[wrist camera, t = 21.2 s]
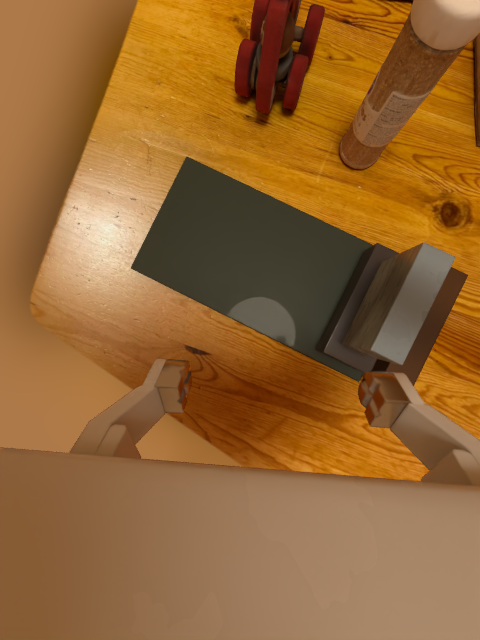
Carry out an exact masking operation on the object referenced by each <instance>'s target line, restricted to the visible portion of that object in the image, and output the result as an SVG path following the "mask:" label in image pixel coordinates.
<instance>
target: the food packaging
mask: <svg viewBox="0 0 480 640" xmlns="http://www.w3.org/2000/svg"><path fill="white" fill-rule="evenodd" d="M474 47H475V89H476V103H475V117H476V135H477V146H480V33H479V34H478V35H477V36H476V37H475V38H474Z"/></svg>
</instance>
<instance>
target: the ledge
mask: <svg viewBox="0 0 480 640" xmlns="http://www.w3.org/2000/svg"><path fill="white" fill-rule="evenodd" d="M467 277H468V275H467V274H465V273H463V272H460V271H458V270H456V269H454V268H452V267H451V268H450V270H449V272H448V274H447V276H446V278H445V280H444V282H443V284H442V286H441V288H440V290H439V292H438V294H437V296H436V298H435V300H434V302H433V304H432V306H431V308H430V310H429V312H428V314H427V316H426V318H425V320H424V322H423V324H422V326H421V329H420V331H419V333H418V335H417V337H416V339H415V341H414V343H413V345H412V347H411V349H410V351H409V353H408V355H407V357H406V359H405V361H404V363H403V365H398V364H395V363H391V362H387V361H383V360H379V359H377V360H376V362H375V364H374V366H373V368H372V370H371V371H377V372H396V373H404V374H405V375H406V376H407V377H408V379H409V380H410V382H411V383H412V385H413V386H414V384H415V382H416V380H417V378H418V376H419V374H420V372H421V370H422V368H423V366H424V364H425V362H426V360H427V358H428V356H429V354H430V352H431V350H432V347H433V345H434V343H435V341H436V339H437V337H438V335H439V333H440V331H441V329H442V327H443V325H444V323H445V321H446V319H447V317H448V315H449V313H450V311H451V309H452V307H453V305H454V303H455V301H456V299H457V297H458V295H459V293H460V291H461V289H462V287H463V285H464V283H465V281H466V279H467ZM363 381H365V379H363ZM363 381H362V382H363Z"/></svg>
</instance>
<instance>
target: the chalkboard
mask: <svg viewBox="0 0 480 640" xmlns="http://www.w3.org/2000/svg"><path fill="white" fill-rule="evenodd" d="M372 246H373V245H372V244H370V243H368V242H365V241H363V240H361V239H359V238H357V237H355V236H353V235H351V234H349V233H347V232H344V231H342V230H340V229H338V228H336V227H334V226H332V225H330V224H328V223H326V222H323V221H321V220H319V219H317V218H315V217H313V216H311V215H309V214H307V213H305V212H302V211H300V210H298V209H296V208H294V207H292V206H290V205H288V204H286V203H283V202H281V201H279V200H277V199H275V198H273V197H271V196H269V195H267V194H265V193H262V192H260V191H258V190H256V189H254V188H252V187H250V186H248V185H246V184H244V183H241V182H239V181H237V180H235V179H233V178H231V177H229V176H227V175H225V174H223V173H220V172H218V171H216V170H214V169H212V168H210V167H208V166H206V165H204V164H202V163H199V162H197V161H195V160H193V159H191V158H189V157H186V159H185V161H184V163H183V165H182V167H181V169H180V171H179V173H178V175H177V177H176V179H175V181H174V183H173V185H172V187H171V189H170V191H169V193H168V194H167V196H166V198H165V200H164V202H163V204H162V206H161V208H160V210H159V212H158V214H157V216H156V218H155V220H154V222H153V224H152V226H151V228H150V230H149V232H148V234H147V236H146V238H145V240H144V242H143V244H142V246H141V248H140V250H139V252H138V254H137V256H136V258H135V260H134V262H133V264H132V266H131V269H133V270H135V271H137V272H139V273H141V274H144V275H146V276H148V277H150V278H152V279H154V280H156V281H158V282H160V283H162V284H164V285H166V286H168V287H170V288H172V289H174V290H176V291H178V292H180V293H182V294H184V295H186V296H188V297H190V298H192V299H194V300H196V301H198V302H200V303H202V304H204V305H206V306H208V307H210V308H212V309H214V310H216V311H218V312H220V313H222V314H224V315H226V316H228V317H230V318H232V319H234V320H236V321H238V322H240V323H242V324H244V325H246V326H248V327H250V328H252V329H254V330H256V331H258V332H260V333H262V334H264V335H266V336H268V337H270V338H272V339H274V340H276V341H278V342H280V343H282V344H284V345H286V346H288V347H290V348H292V349H294V350H296V351H298V352H300V353H302V354H304V355H306V356H308V357H310V358H312V359H314V360H316V361H318V362H320V363H322V364H324V365H326V366H328V367H330V368H332V369H334V370H336V371H338V372H340V373H342V374H344V375H346V376H348V377H350V378H352V379H354V380H356V381H358V382H359V381H360V379H361V377H362V375H363V372H360V371H358V370H356V369H354V368H352V367H350V366H348V365H346V364H344V363H342V362H340V361H338V360H336V359H334V358H332V357H330V356H328V355H326V354H324V353H322V352H320V351H318V350H316V348H317V346H318V344H319V342H320V340H321V338H322V336H323V334H324V332H325V330H326V328H327V325H328V323H329V321H330V319H331V317H332V315H333V313H334V311H335V309H336V307H337V305H338V303H339V301H340V299H341V297H342V295H343V293H344V291H345V289H346V287H347V285H348V283H349V281H350V279H351V277H352V275H353V273H354V271H355V269H356V267H357V265H358V263H359V261H360V259H361V257H362V255H363V253H364V251H365V250H367V249H368V248H370V247H372Z"/></svg>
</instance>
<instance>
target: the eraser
mask: <svg viewBox="0 0 480 640" xmlns="http://www.w3.org/2000/svg"><path fill="white" fill-rule="evenodd" d="M454 260H455V257H454V256H452V255H450V254H448V253H446V252H443V251H441V250H439V249H437V248H435V247H433V246H431V245H429V244H426V243H422V244H420V245H417V246H415V247H413V248H411V249H409V250H407V251H404V252H402V253H400V254H399V253H397V252H395V251H393V250H391V249H389V248H387V247H385V246H383V245H380V244H378V243H376V244H375V245H373V246H372V247H370V248H368V249H367V250H365V251H364V253H363V255H362V257H361V259H360V261H359V263H358V265H357V267H356V269H355V271H354V273H353V275H352V277H351V279H350V281H349V283H348V285H347V287H346V289H345V291H344V293H343V295H342V297H341V299H340V301H339V303H338V305H337V307H336V309H335V311H334V313H333V315H332V317H331V319H330V321H329V323H328V325H327V328H326V330H325V332H324V334H323V336H322V338H321V340H320V342H319V344H318V346H317V348H316V350H318V351H320V352H322V353H324V354H326V355H328V356H330V357H332V358H334V359H336V360H338V361H340V362H342V363H344V364H346V365H348V366H350V367H352V368H354V369H356V370H358V371H360V372H363V373H366V372H367V371H371V370H372V368H373V366H374V364H375V362H376V360H377V359H379V360H383V361H387V362H391V363H395V364H398V365H403V363H404V361H405V359H406V357H407V355H408V353H409V351H410V349H411V347H412V345H413V343H414V341H415V339H416V337H417V335H418V333H419V331H420V329H421V326H422V324H423V322H424V320H425V318H426V316H427V314H428V312H429V310H430V308H431V306H432V304H433V302H434V300H435V298H436V296H437V294H438V292H439V290H440V288H441V286H442V284H443V282H444V280H445V278H446V276H447V274H448V272H449V270H450V268H451V266H452V264H453V262H454Z"/></svg>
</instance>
